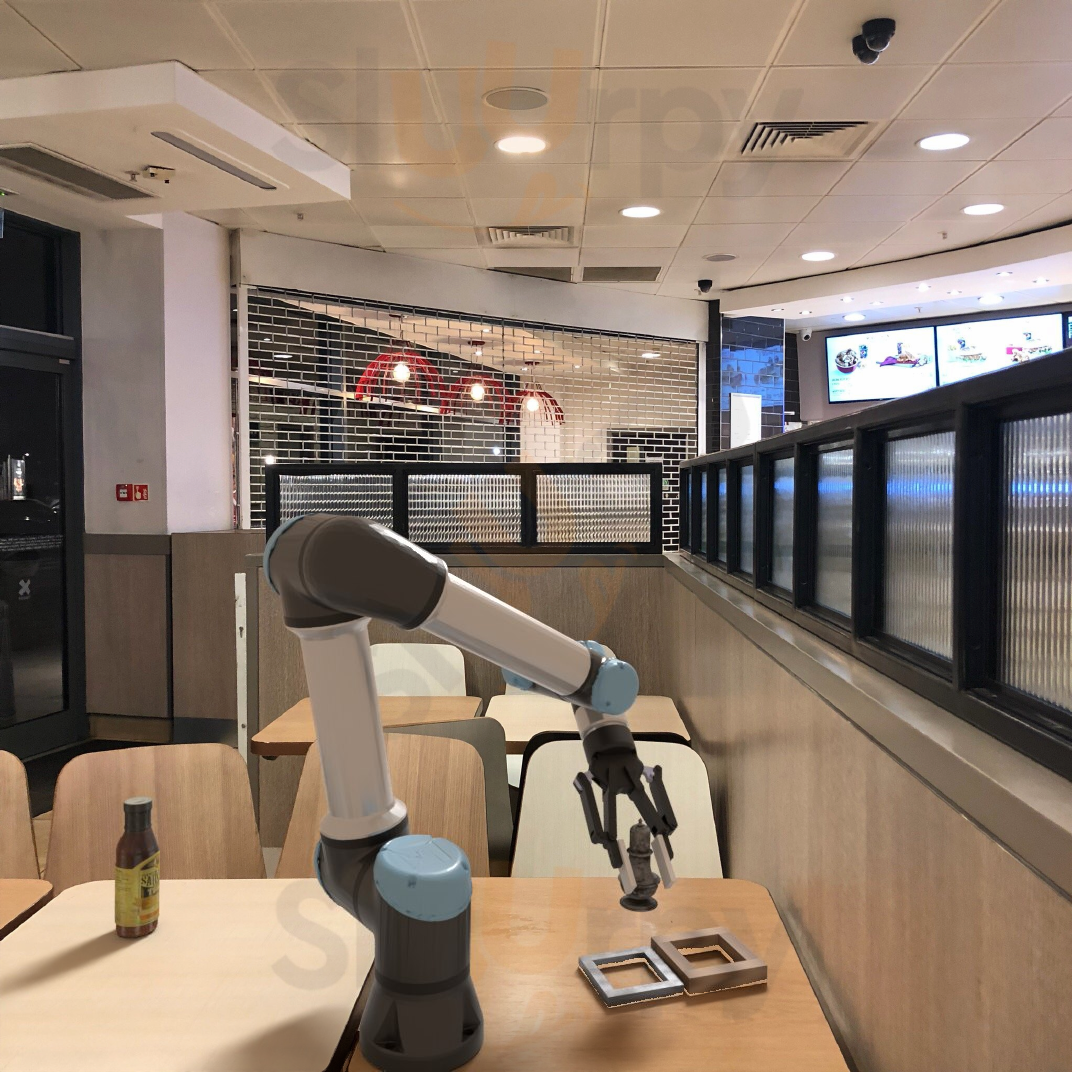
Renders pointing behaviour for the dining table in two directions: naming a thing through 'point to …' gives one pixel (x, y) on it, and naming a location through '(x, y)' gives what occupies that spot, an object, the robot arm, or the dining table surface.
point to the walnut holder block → (711, 977)
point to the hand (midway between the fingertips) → (650, 887)
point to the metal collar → (634, 993)
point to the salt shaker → (640, 871)
